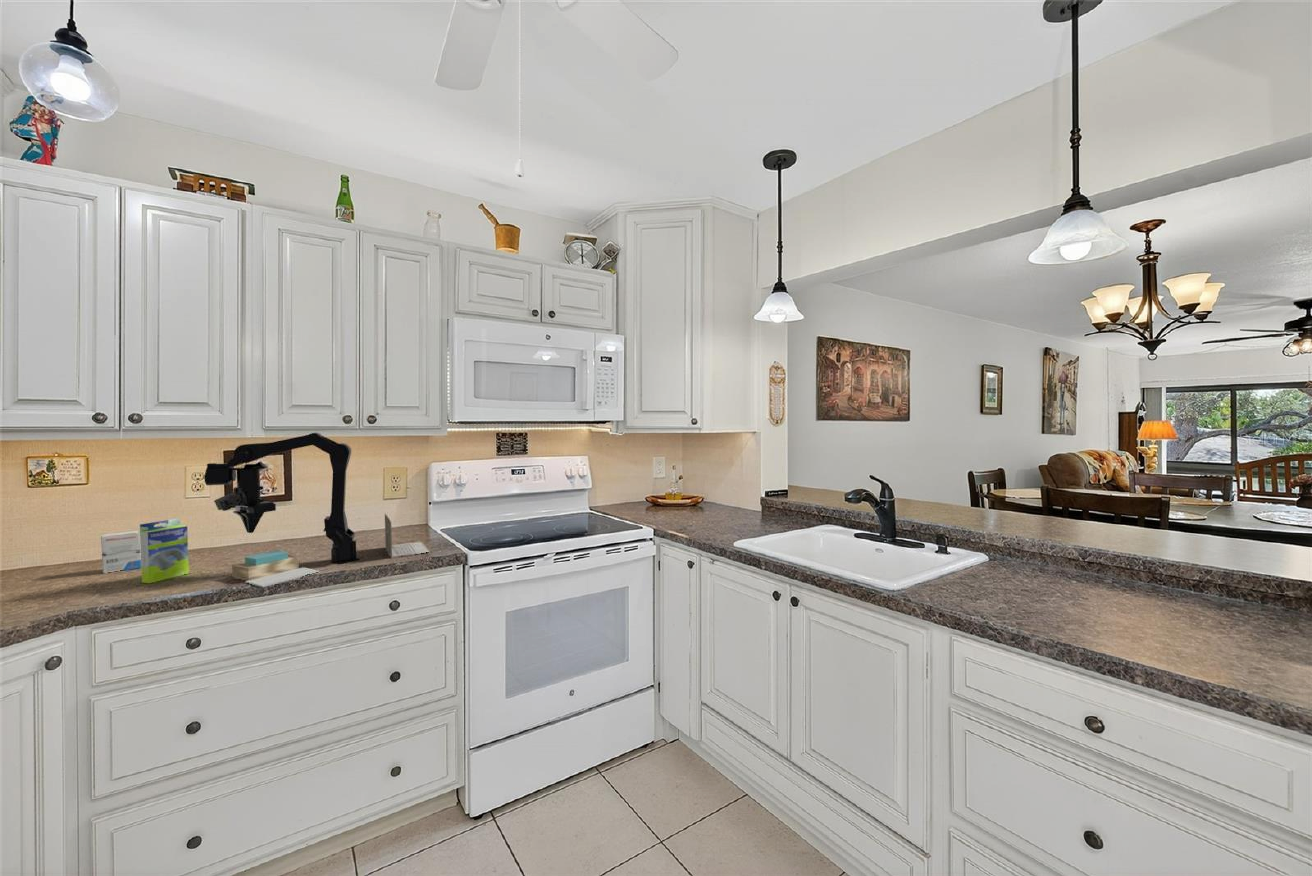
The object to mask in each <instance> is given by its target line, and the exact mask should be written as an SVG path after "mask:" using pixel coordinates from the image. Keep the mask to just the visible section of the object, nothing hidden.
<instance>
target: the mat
mask: <svg viewBox="0 0 1312 876" xmlns="http://www.w3.org/2000/svg"><path fill="white" fill-rule="evenodd" d="M319 571H320V570H318V569H314V568H308V567H304V566H302V567H299V568H298V569H294V570H290V571H285V572H281V573H277V574H273V575H269V576H265V577H261V578H257V579H253V580H249V581H244V582H245V584H247V583H249V584H248V585H251V584H252V586H256V587H260V588H265V587H270V586H273V585H276V584H281V583H285V582H288V581H289V582H290V581H292V580H296V579H300V577H301V578H303V577H302V576H304V577H306V576H305V575H307V574H312V573H316V572H319ZM316 574H317V573H316ZM312 575H313V574H312Z"/></svg>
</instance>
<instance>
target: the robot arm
mask: <svg viewBox="0 0 1312 876" xmlns="http://www.w3.org/2000/svg"><path fill="white" fill-rule="evenodd" d="M310 446H313V447H316V448H318V449H319V450H321V451H323V452H324V453H326V454H328V455H329V460H330V465H331V470H332V483H331V486H332V487H331V505H330V515H327V516H326V517H325V518H324V519H323V523H324V528H323V532H324V533H325V536H326V537H327V538H328V539H329V540H331V541H332V544H331V546H332V547H331V549H330V553H331V554H330V555H331V559H329V562H331V563H337V564H345V563H349V562H352V561H356V560H360V557H359V556H357V540H354V539H355V535H356V532H354V531H353V530H352V529H350V528H349V526H348V520H347V519H348V518H347V515H346V511H345V509H346V507H345V506H346V489H347V488H346V485H347V469H348V466H349V463H350V459H351V456H352V448H351V446H349V445H348V444H347V443H344V442H343V443H342V442H340V443H338V442H337V441H335V440H332V439H329V438H328V437H325V436H324V435H322V434H321V433H319V432H312V433H310V434H305V435H300V436H296V437H291V438H287V439H282V440H277V441H271V442H258V443H255V442H254V443H247V444H246V443H245V444H241V445H238V446H237V447H236V448H235V449H234V452H233V456H232V457H231V458H230V459H229V460H228V462H226V463H218V462H216V463H215V462H212V463H211V462H210V463H207V464H206V469H205V471H204V475H203V476H204V483H205V485H206V486H222V485H223V486H224V485H227V486H229V485H231V484H232V483H233V482H236V486H235V487H233V488H232V490H233V491H232V492H231V493H229V494H225V495H223V496H222V497H219V498H217V499H215V500H214V504H215V506H216V508H217V510H218V511H223V512H225V511H226V512H227V511H230V510H231V509H234V508H235V510H233V511H232V513H233V514H236V515H237V516H238V517H240V519H241V521H242V523H243V526H244V528H245V530H246V533H247V534H252V533H254V532H255V529H256V528H257V526H258V525H259V522H260V520H261V518H262V517H263V515H264V514H265V513H269V512H275V511H277V507H276V505H277V504H276V503H274V502H273V501H264V498H261V490H264V486H263V485H261V477H260V476H261V475H260V474H261V472H260V470H265V469H268V465H266V464H264V463H263V461H261V460H260V459H263V458H266V457H268V456H270V455H273V454H277V453H283V452H287V451H291V450H295V449H300V448H305V447H310ZM258 460H260V461H258ZM255 461H258V462H257V463H251V462H255ZM243 464H244V466H243V467H241V466H242V465H243ZM237 466H240V467H237Z"/></svg>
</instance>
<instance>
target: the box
mask: <svg viewBox="0 0 1312 876" xmlns="http://www.w3.org/2000/svg"><path fill="white" fill-rule="evenodd" d="M160 523H161V524H165V525H160V526H155V525H159V524H160ZM139 530H140V531H139V538H140V553H141V583H144V584H152V583H157V582H161V581H166V580H170V579H172V578H176V577H182V576H185V575H184V574H186V575H189V571H190V570H189V568H190V567H189V545H188V544H189V541H188V538H189V537H188V536H189V535H188V534H189V533H188V531H189V530H188V525H187V524H186V525H185V524H180V518H179V517H178V518H173V519H172V518H171V519H166V520H165V519H164V520H160V521H153V522H147V523H141V524H140V523H139Z"/></svg>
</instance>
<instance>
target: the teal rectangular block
mask: <svg viewBox="0 0 1312 876" xmlns="http://www.w3.org/2000/svg"><path fill="white" fill-rule="evenodd" d="M288 555H289V552H288V551H284V550H277V549H276V550H272V551H266V552H263V553H258V554H253V555H247V556H244V562H245V564H250V565H254V566H258V565H262V564H267V563H271V562H276V561H280V560H284V559H288Z"/></svg>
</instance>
